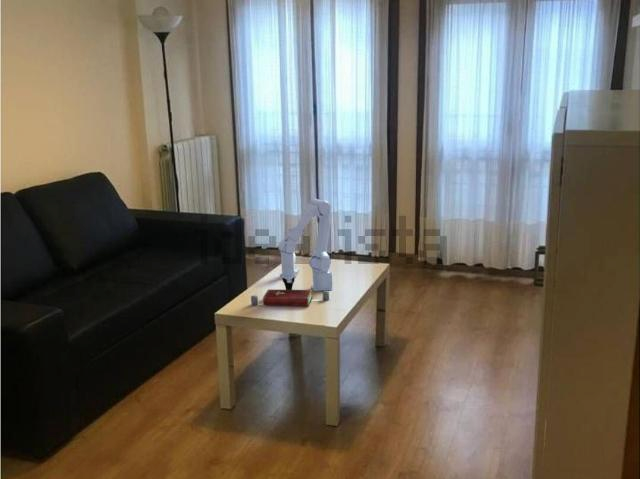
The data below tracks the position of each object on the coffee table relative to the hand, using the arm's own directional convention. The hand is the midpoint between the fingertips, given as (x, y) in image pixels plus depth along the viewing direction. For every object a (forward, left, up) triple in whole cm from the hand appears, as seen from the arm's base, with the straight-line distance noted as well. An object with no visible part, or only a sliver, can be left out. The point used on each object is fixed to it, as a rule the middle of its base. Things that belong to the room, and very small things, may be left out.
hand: (289, 292), depth 310 cm
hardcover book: (+1, +7, -2) cm, 8 cm away
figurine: (-4, -32, -2) cm, 32 cm away
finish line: (0, +8, -2) cm, 8 cm away
